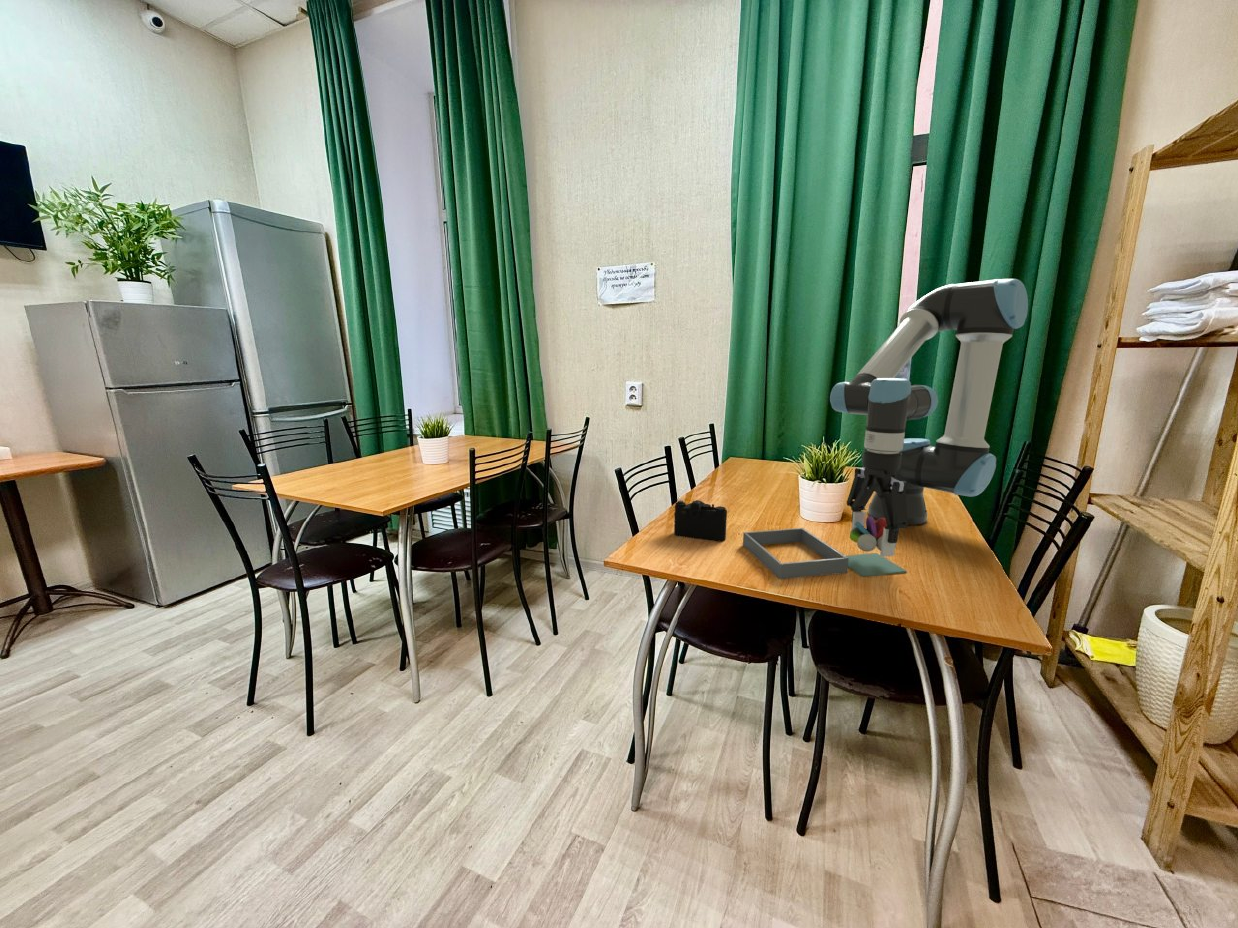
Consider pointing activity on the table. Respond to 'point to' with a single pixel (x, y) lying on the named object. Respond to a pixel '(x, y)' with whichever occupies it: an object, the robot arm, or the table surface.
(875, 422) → the robot arm
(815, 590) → the table surface
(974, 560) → the table surface
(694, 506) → the camera
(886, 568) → the mat
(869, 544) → the rainbow petal fan figurine
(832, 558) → the bin
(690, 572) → the table surface
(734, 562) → the table surface
